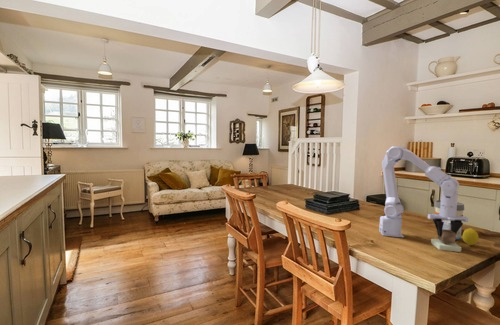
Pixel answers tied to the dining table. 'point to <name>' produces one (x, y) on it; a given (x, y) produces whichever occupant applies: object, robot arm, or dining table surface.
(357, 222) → the dining table surface
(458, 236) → the medicine box
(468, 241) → the lemon
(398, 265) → the dining table surface
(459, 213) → the reusable coffee cup
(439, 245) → the base brick
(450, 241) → the walnut cube
